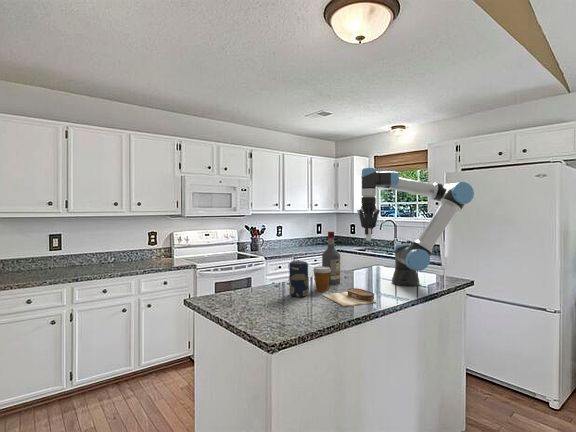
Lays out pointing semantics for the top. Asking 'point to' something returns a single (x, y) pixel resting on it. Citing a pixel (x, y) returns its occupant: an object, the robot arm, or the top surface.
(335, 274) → the liquor
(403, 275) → the robot arm
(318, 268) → the disposable coffee cup
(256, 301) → the top surface
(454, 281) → the top surface
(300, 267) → the canister
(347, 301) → the oak board
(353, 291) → the tin
